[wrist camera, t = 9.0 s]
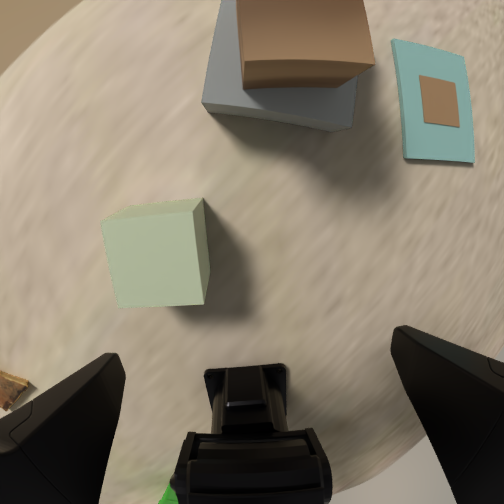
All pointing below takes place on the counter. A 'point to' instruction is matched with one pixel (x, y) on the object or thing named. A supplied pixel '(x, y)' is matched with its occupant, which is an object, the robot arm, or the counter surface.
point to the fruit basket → (169, 497)
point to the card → (433, 103)
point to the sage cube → (158, 254)
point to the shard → (10, 389)
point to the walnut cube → (302, 42)
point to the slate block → (268, 99)
